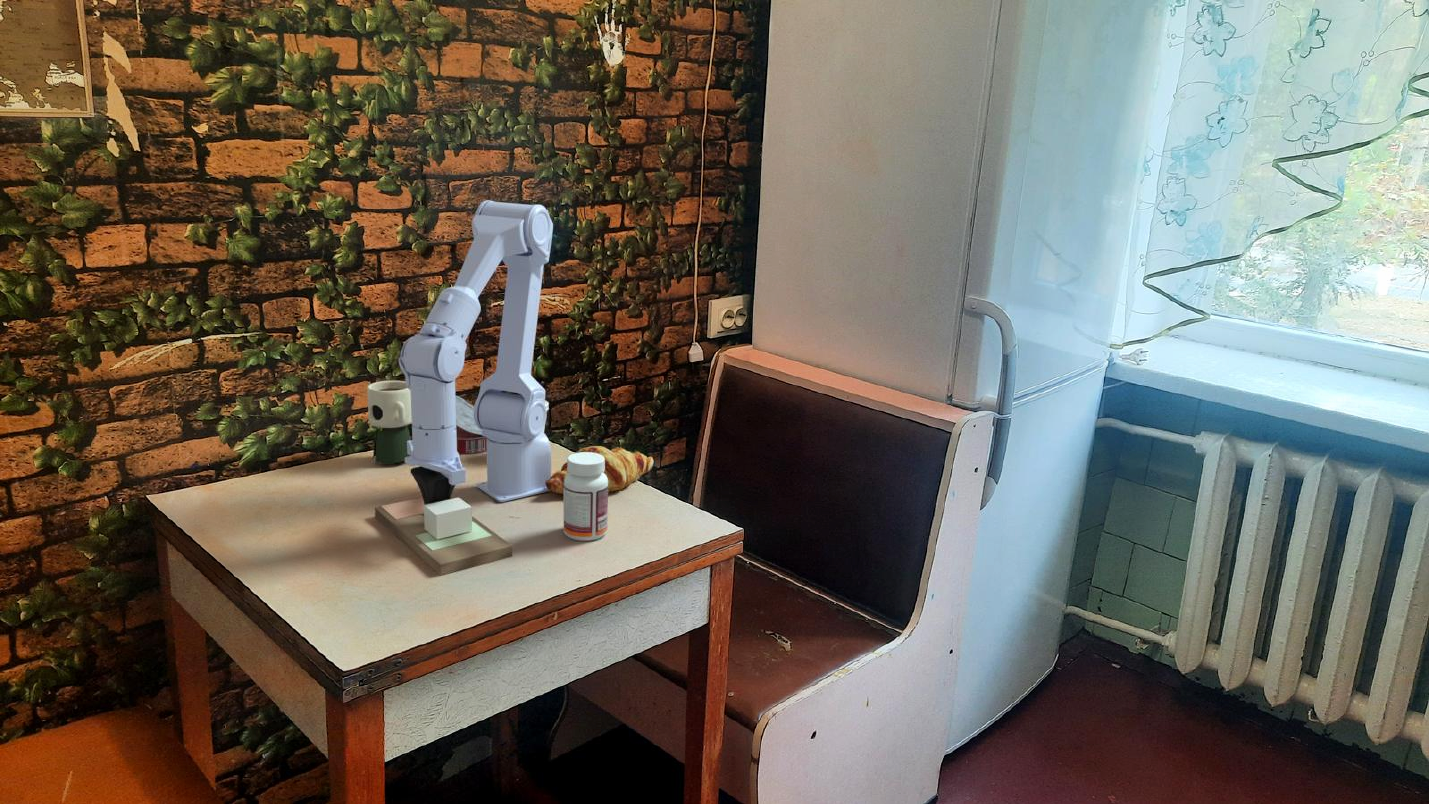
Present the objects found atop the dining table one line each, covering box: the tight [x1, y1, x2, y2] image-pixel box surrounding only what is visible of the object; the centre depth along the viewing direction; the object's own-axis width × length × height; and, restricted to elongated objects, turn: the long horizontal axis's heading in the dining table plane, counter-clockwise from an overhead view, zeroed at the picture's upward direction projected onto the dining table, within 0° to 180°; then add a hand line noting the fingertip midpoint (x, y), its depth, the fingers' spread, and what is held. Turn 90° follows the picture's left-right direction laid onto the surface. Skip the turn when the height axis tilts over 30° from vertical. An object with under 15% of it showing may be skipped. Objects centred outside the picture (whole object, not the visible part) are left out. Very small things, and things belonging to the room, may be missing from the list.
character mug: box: [366, 380, 412, 465], centre depth 156 cm, size 11×7×13 cm, turn 37°
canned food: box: [455, 395, 487, 455], centre depth 166 cm, size 11×10×10 cm
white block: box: [424, 497, 473, 539], centre depth 128 cm, size 5×4×4 cm
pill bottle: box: [563, 452, 609, 542], centre depth 132 cm, size 6×6×11 cm
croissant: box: [545, 445, 654, 495], centre depth 151 cm, size 21×10×8 cm, turn 136°
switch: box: [374, 496, 513, 576], centre depth 130 cm, size 10×22×2 cm, turn 40°
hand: (437, 517), depth 130 cm, fingers closed
